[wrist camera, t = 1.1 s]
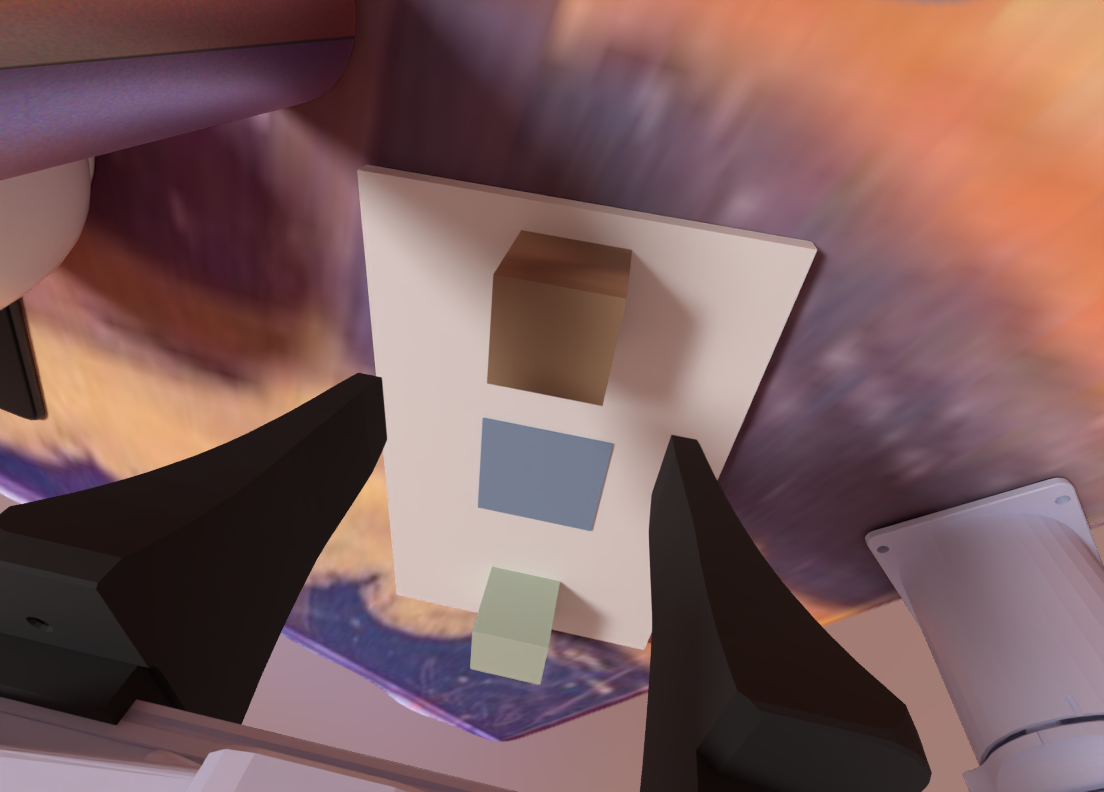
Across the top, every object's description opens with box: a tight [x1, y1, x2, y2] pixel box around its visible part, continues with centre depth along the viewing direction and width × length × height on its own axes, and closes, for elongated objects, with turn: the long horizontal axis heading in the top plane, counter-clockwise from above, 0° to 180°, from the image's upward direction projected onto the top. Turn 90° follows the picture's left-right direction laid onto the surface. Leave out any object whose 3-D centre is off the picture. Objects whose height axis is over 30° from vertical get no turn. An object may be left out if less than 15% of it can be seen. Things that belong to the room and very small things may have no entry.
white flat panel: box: [357, 165, 817, 650], centre depth 26 cm, size 16×26×1 cm, turn 173°
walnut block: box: [487, 230, 632, 406], centre depth 19 cm, size 4×4×4 cm
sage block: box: [470, 567, 560, 685], centre depth 30 cm, size 4×4×4 cm
